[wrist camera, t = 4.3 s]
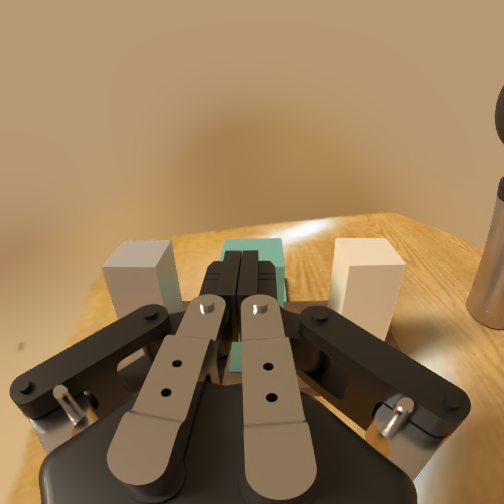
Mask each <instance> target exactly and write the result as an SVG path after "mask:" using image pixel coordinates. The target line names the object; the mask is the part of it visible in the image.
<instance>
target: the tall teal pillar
mask: <svg viewBox="0 0 504 504" xmlns="http://www.w3.org/2000/svg"><path fill="white" fill-rule="evenodd" d="M227 250H241V251H243V250H258V251H259V261H271V262H272V263H273V265H274V266H275V270H276V285H277V299H278V303H279V305H280V306H281V307H282V308H283V303H284V276H285V264H284V257H283V249H282V241H281V238H273V239H225V241H224V245H223V249H222V253H221V256H220V260H219V261H223V259H224V254H225V251H227ZM230 352H231V358H230V363H229V372H242V351H241V342H240V333H239V341H238V342H232V347H231V351H230Z"/></svg>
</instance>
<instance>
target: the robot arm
mask: <svg viewBox="0 0 504 504" xmlns="http://www.w3.org/2000/svg"><path fill="white" fill-rule="evenodd" d="M495 124H496V130H497V133H498V136H499V138H500V140H501V141H502V142H503V144H504V86H503V88H502V89H501V92H500V94H499V97H498V100H497V104H496V111H495ZM466 303H467V308H468V310H469V312H470V314H471V315H472V316H473V317H474V318H475V319H476V320H477V321H479V322H480V323H482V324H483V325H485V326H487V327H490V328H493V329H504V177H502V178H501V180H500V182H499V187H498V193H497V198H496V203H495V208H494V213H493V218H492V222H491V226H490V230H489V234H488V238H487V242H486V245H485V248H484V252H483V255H482V259H481V262H480V265H479V268H478V271H477V274H476V277H475V280H474V283H473V285H472V288H471V291H470V294H469V296H468V299H467V302H466ZM239 333H240V342H241V351H242V383H238V384H232V385H225V381H226V377H227V372H228V368H229V363H230V358H231V352H230V351H231V347H232V342H238V341H239ZM141 348H142V349H143V352H144V355H143V356H141V357H140V358H138V359H137V360H135V361H134V362H132V363H130V364H129V365H127V366H126V367H124V368H123V369H121V370H119V371H118V372H117V367H118V364H119V363H120V362H121V361H122V360H124V359H125V358H127V357H128V356H130V355H132V354H133V353H135V352H136V351H138V350H140V349H141ZM297 376H298V377H299V378H300V379H301V380H302V381H304V382H305V383H306V384H307V385H308V386H310V387H311V388H312V389H313V390H315V391H316V392H317V393H318V394H319V395H321V396H322V397H323V398H324V399H326V400H327V401H328V402H329V403H331V404H332V405H333V406H334V407H336V408H337V409H338V410H339V411H341V412H342V413H343V414H344V415H346V416H347V417H348V418H350V419H351V420H352V421H353V422H355V423H356V424H357V425H359V426H360V427H361V428H363V429H364V430H365V431H366V441H365V440H364V439H363V438H362V437H360V436H359V435H358V434H357V433H356V432H354V431H353V430H352V429H351V428H350V427H348V426H347V425H346V424H345V423H344V422H343V421H341V420H340V419H339V418H338V417H337V416H336V415H334V414H333V413H332V412H331V411H330V410H329V409H328V408H326V407H325V406H324V405H323V404H322V403H321V402H319V401H318V400H316V399H315V398H314V397H312V396H310V395H308V394H306V393H303V392H301V391H299V386H298V381H297ZM10 397H11V399H12V400H13V401H14V403H15V404H16V405H17V406H18V407H19V408H20V409H21V411H22V412H23V414H24V416H25V417H26V418H27V419H28V420H29V421H30V423H31V424H32V426H33V428H34V430H35V432H36V435H37V437H38V439H39V441H40V443H41V445H42V447H43V449H44V451H45V453H46V455H47V456H46V457H45V459H44V460H43V462H42V464H41V467H40V471H39V488H40V494H41V504H417V492H416V489H415V486H414V484H413V482H412V481H413V480H414V479H415V478H416V476H417V475H418V474H419V473H420V471H421V470H422V469H423V467H424V466H425V465H426V464H427V462H428V461H429V459H430V458H431V457H432V455H433V454H434V453H435V452H436V451H437V450H438V448H439V447H440V446H441V445H442V444H443V443H444V442H445V441H446V440H447V439H448V438H449V437H450V436H451V434H452V433H453V432H454V431H455V430H456V429H457V428H458V426H459V425H460V424H461V423H462V422H463V421H464V419H465V418H466V417H467V416H468V414H469V412H470V408H471V403H470V399H469V397H468V395H467V394H466V393H465V392H464V391H463V390H462V389H460V388H459V387H457V386H455V385H454V384H452V383H451V382H449V381H447V380H446V379H444V378H442V377H441V376H439V375H437V374H436V373H434V372H433V371H431V370H429V369H428V368H426V367H424V366H423V365H421V364H420V363H418V362H416V361H415V360H413V359H411V358H410V357H408V356H407V355H405V354H403V353H402V352H400V351H399V350H397V349H395V348H394V347H392V346H390V345H389V344H387V343H386V342H384V341H382V340H381V339H379V338H378V337H376V336H374V335H373V334H371V333H369V332H368V331H366V330H365V329H363V328H361V327H360V326H358V325H357V324H355V323H353V322H352V321H350V320H349V319H347V318H345V317H344V316H342V315H340V314H339V313H337V312H336V311H334V310H332V309H331V308H328V307H325V306H318V305H317V306H310V307H307V308H305V309H304V310H303V311H302V312H301V313H300V314H298V313H293V312H290V311H287V310H285V309H284V308H282V307H281V306H280V305H279V303H278V299H277V285H276V270H275V266H274V265H273V263H272V262H271V261H259V251H258V250H243V251H241V250H227V251H225V254H224V259H223V261H214V262H213V263H211V264H210V265H209V266H208V268H207V271H206V275H205V277H204V281H203V284H202V287H201V291H200V294H199V296H198V297H196V298H194V299H193V300H192V301H191V302H190V303H189V305H188V308H187V310H185V311H182V312H177V313H171V314H168V311H167V309H166V308H165V307H164V306H162V305H158V304H149V305H145V306H142V307H140V308H139V309H137V310H135V311H133V312H131V313H130V314H128V315H126V316H124V317H122V318H121V319H119V320H117V321H115V322H114V323H112V324H110V325H108V326H106V327H105V328H103V329H101V330H99V331H98V332H96V333H94V334H92V335H90V336H89V337H87V338H85V339H83V340H82V341H80V342H78V343H76V344H74V345H73V346H71V347H69V348H67V349H66V350H64V351H62V352H60V353H59V354H57V355H55V356H53V357H51V358H50V359H48V360H46V361H44V362H43V363H41V364H39V365H37V366H36V367H34V368H32V369H30V370H29V371H27V372H25V373H23V374H22V375H20V376H18V377H17V378H16V379H15V380H14V381H13V383H12V384H11V387H10Z"/></svg>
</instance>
